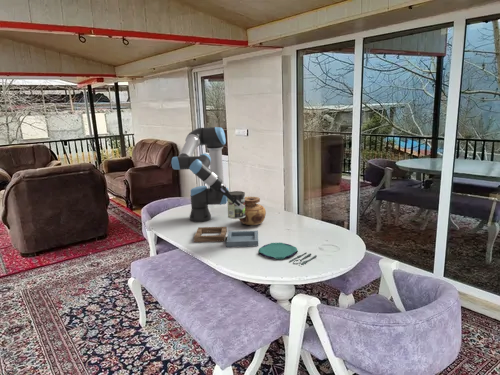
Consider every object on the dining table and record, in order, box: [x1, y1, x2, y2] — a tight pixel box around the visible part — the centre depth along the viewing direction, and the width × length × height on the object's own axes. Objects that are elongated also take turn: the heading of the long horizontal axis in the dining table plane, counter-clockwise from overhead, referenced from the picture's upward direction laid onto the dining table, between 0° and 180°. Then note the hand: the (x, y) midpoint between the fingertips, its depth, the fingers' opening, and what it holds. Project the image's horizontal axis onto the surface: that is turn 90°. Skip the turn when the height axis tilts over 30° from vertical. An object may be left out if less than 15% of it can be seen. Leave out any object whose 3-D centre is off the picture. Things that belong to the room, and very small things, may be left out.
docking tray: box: [226, 230, 259, 248], centre depth 218 cm, size 18×18×3 cm
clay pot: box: [238, 196, 267, 226], centre depth 247 cm, size 19×19×20 cm
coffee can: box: [227, 190, 246, 220], centre depth 213 cm, size 10×10×14 cm
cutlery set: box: [258, 242, 317, 266], centre depth 196 cm, size 20×30×2 cm, turn 46°
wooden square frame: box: [193, 226, 228, 243], centre depth 227 cm, size 18×18×3 cm
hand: (241, 206), depth 214 cm, fingers closed on coffee can, 10 cm apart
